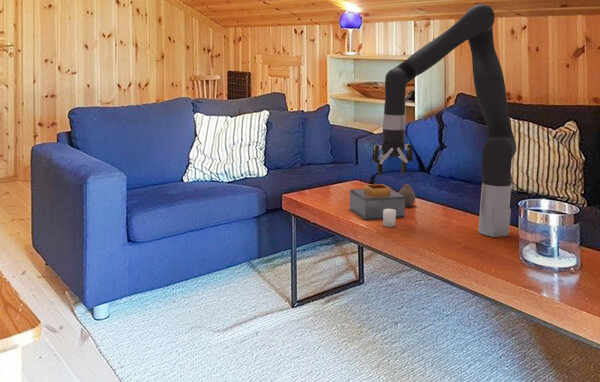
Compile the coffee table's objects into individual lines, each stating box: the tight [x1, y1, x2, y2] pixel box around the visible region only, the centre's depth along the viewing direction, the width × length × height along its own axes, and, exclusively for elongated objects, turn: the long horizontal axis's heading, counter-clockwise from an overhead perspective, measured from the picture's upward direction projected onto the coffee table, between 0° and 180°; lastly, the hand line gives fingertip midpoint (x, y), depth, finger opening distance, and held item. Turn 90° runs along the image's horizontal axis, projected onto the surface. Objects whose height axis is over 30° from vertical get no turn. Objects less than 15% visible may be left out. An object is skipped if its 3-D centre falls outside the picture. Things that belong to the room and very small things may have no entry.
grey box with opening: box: [349, 183, 406, 221], centre depth 207 cm, size 20×16×10 cm
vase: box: [398, 183, 416, 208], centre depth 216 cm, size 7×7×9 cm
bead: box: [382, 209, 397, 228], centre depth 191 cm, size 4×4×6 cm
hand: (391, 173), depth 188 cm, fingers open, 8 cm apart
